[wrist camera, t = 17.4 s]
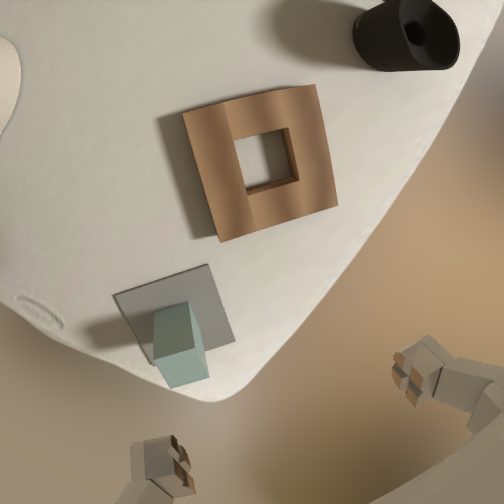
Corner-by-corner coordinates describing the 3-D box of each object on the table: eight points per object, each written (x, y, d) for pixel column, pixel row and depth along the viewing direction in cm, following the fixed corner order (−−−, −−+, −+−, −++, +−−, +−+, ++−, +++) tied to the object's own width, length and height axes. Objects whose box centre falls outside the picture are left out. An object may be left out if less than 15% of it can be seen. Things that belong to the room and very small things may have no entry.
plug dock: (217, 235, 36) (220, 242, 34) (181, 114, 30) (182, 113, 28) (328, 200, 38) (338, 205, 36) (305, 86, 32) (315, 83, 30)
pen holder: (387, 4, 29) (437, -13, 20) (416, 64, 33) (469, 60, 24) (335, 18, 29) (383, -5, 20) (368, 84, 33) (423, 79, 24)
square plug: (167, 339, 39) (170, 388, 31) (154, 312, 37) (153, 360, 29) (200, 329, 40) (209, 377, 32) (188, 301, 38) (195, 347, 30)
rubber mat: (153, 364, 41) (153, 366, 41) (115, 294, 36) (114, 296, 35) (235, 339, 42) (235, 341, 42) (208, 263, 37) (208, 265, 37)
